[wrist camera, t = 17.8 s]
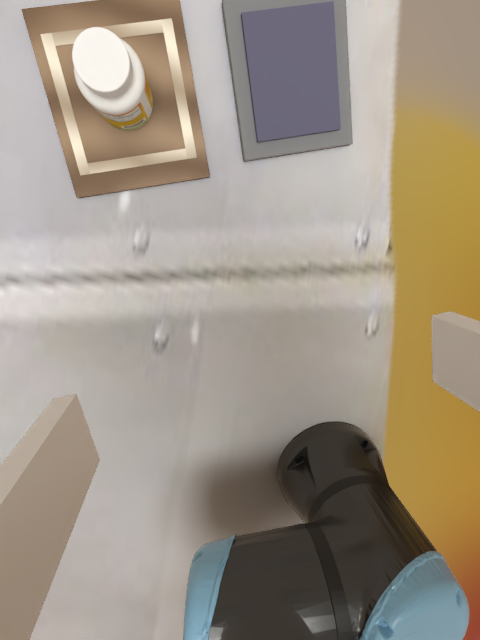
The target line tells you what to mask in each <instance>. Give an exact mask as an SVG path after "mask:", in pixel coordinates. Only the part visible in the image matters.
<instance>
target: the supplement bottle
mask: <svg viewBox="0 0 480 640" xmlns="http://www.w3.org/2000/svg"><path fill="white" fill-rule="evenodd" d="M72 59H73V64H74V75H75V79H76V83H77V85H78V87H79V89H80V91H81V93H82V94H83V96H84V97H85V98H86V100H87V101H88V102H89V103H90V104H91V105H92V106H93V107H94V108H95V109H96V110H97V111H98V112H99V113H100V114H101V115H102V116H103V118H104V119H105V120H106V121H107V122H109V123H110V124H111V125H113V126H114V127H116V128H118V129H121V130H135V129H138V128H140V127H142V126H143V125H144V124H145V123H146V122H147V121H148V119H149V118H150V116H151V113H152V109H153V98H152V93H151V89H150V86H149V84H148V80H147V78H146V75H145V71H144V69H143V66H142V63H141V61H140V59H139V57H138V55H137V54H136V52H135V51H134V50H133V48H132V47H131V46H130V45H129V44H127V43H126V42H125V41H123V40H122V39H120V38H119V37H118V36H117V35H115V34H114V33H113V32H111V31H109V30H107V29H105V28H101V27H92V28H88V29H86V30H84V31H83V32H81V33H80V34H79V35H78V37H77V38H76V40H75V42H74V45H73V49H72Z"/></svg>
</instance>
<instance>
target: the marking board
mask: <svg viewBox="0 0 480 640" xmlns="http://www.w3.org/2000/svg"><path fill="white" fill-rule="evenodd" d="M22 12H23V16H24V19H25V23H26V26H27V29H28V33H29V36H30V40H31V43H32V47H33V50H34V53H35V57H36V60H37V64H38V67H39V70H40V74H41V77H42V81H43V84H44V88H45V91H46V94H47V98H48V101H49V105H50V108H51V111H52V115H53V118H54V122H55V125H56V129H57V132H58V135H59V139H60V142H61V146H62V149H63V152H64V156H65V159H66V163H67V166H68V170H69V173H70V176H71V180H72V183H73V187H74V190H75V193H76V197H77V198H82V197H89V196H95V195H101V194H107V193H114V192H120V191H126V190H133V189H139V188H145V187H151V186H158V185H164V184H170V183H176V182H183V181H189V180H195V179H202V178H208V177H210V175H209V169H208V163H207V157H206V152H205V146H204V140H203V134H202V128H201V123H200V117H199V111H198V105H197V99H196V94H195V88H194V82H193V76H192V70H191V65H190V59H189V53H188V47H187V41H186V36H185V30H184V24H183V18H182V12H181V7H180V1H179V0H97V1H88V2H80V3H71V4H62V5H54V6H45V7H36V8H28V9H22ZM92 27H101V28H105V29H107V30H109V31H111V32H113V33H114V34H115V35H117V36H118V37H119V38H120V39H122V40H123V41H125V42H126V43H127V44H129V45H130V46H131V47H132V48H133V50H134V51H135V52H136V54H137V55H138V57H139V59H140V61H141V63H142V66H143V69H144V71H145V75H146V78H147V80H148V84H149V86H150V89H151V93H152V98H153V109H152V113H151V116H150V118H149V119H148V121H147V122H146V123H145V124H144V125H143V126H142V127H140V128H138V129H135V130H121V129H118V128H116V127H114V126H113V125H111V124H110V123H109V122H107V121H106V120H105V119H104V118H103V116H102V115H101V114H100V113H99V112H98V111H97V110H96V109H95V108H94V107H93V106H92V105H91V104H90V103H89V102H88V101H87V100H86V98H85V97H84V96H83V94H82V93H81V91H80V89H79V87H78V85H77V83H76V79H75V75H74V64H73V59H72V49H73V45H74V42H75V40H76V38H77V37H78V35H79V34H80V33H81V32H83V31H84V30H86V29H88V28H92Z"/></svg>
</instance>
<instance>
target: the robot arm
mask: <svg viewBox="0 0 480 640" xmlns="http://www.w3.org/2000/svg"><path fill="white" fill-rule="evenodd" d="M432 375H433V376H432V377H433V382H435V383H436V384H438V385H439V386H441V387H442V388H444V389H446V390H447V391H448V392H450V393H451V394H453V395H454V396H456V397H458V398H459V399H461V400H462V401H464V402H465V403H467V404H468V405H470V406H471V407H473V408H474V409H476V410H477V411H479V412H480V321H477V320H474V319H471V318H469V317H466V316H463V315H460V314H457V313H454V312H451V311H450V312H445V313H441V314H436V315H432ZM99 461H100V459H99V456H98V453H97V450H96V447H95V445H94V442H93V439H92V436H91V433H90V431H89V428H88V425H87V422H86V419H85V417H84V414H83V411H82V408H81V405H80V403H79V400H78V397H77V394H73V395H68V396H64V397H59V398H55V399H53V400H52V402H51V403H50V404H49V405H48V407H47V408H46V409H45V410H44V412H43V413H42V414H41V415H40V417H39V418H38V419H37V421H36V422H35V423H34V424H33V426H32V427H31V428H30V429H29V431H28V432H27V433H26V434H25V436H24V437H23V438H22V440H21V441H20V442H19V443H18V445H17V446H16V447H15V448H14V450H13V451H12V452H11V453H10V455H9V456H8V457H7V458H6V460H5V461H4V462H3V464H2V465H1V466H0V640H29V639H30V637H31V634H32V632H33V629H34V627H35V624H36V621H37V619H38V616H39V614H40V611H41V609H42V606H43V604H44V601H45V598H46V596H47V593H48V591H49V588H50V586H51V583H52V581H53V578H54V576H55V573H56V570H57V568H58V565H59V563H60V560H61V558H62V555H63V553H64V550H65V547H66V545H67V542H68V540H69V537H70V535H71V532H72V530H73V527H74V524H75V522H76V519H77V517H78V514H79V512H80V509H81V507H82V504H83V501H84V499H85V496H86V494H87V491H88V489H89V486H90V484H91V481H92V478H93V476H94V473H95V471H96V468H97V466H98V463H99ZM278 479H279V483H280V486H281V489H282V492H283V495H284V497H285V499H286V500H287V502H288V503H289V505H290V506H291V507H292V508H293V509H294V510H295V512H296V513H297V514H298V515H299V516H300V518H301V519H302V520H303V521H304V522H305V524H298V525H293V526H288V527H283V528H278V529H272V530H267V531H262V532H257V533H252V534H247V535H241V536H238V535H232V536H231V537H230V538H227V539H223V540H219V541H215V542H211V543H207V544H205V545H203V546H202V547H201V548H200V549H199V550H198V551H197V552H196V554H195V556H194V558H193V560H192V564H191V568H190V572H189V578H188V584H187V593H186V603H185V616H184V635H183V640H463V638H464V635H465V633H466V630H467V626H468V622H469V606H468V601H467V598H466V595H465V593H464V592H463V589H462V588H461V586H460V585H459V583H458V581H457V580H456V578H455V577H454V575H453V573H452V572H451V570H450V569H449V567H448V566H447V564H446V562H445V559H444V557H443V556H442V555H441V554H440V553H439V552H437V550H436V549H435V548H434V546H433V545H432V543H431V542H430V541H429V539H428V538H427V537H426V535H425V534H424V533H423V531H422V530H421V528H420V527H419V526H418V524H417V523H416V522H415V520H414V519H413V518H412V516H411V515H410V514H409V512H408V511H407V509H406V508H405V507H404V505H403V504H402V503H401V501H400V500H399V499H398V497H397V496H396V495H395V493H394V492H393V490H392V489H391V488H390V486H389V484H388V480H387V477H386V474H385V470H384V466H383V463H382V460H381V456H380V453H379V451H378V449H377V448H376V446H375V445H374V443H373V442H372V441H371V439H370V438H369V437H368V436H367V435H366V433H364V432H363V431H362V430H361V429H359V428H357V427H355V426H353V425H350V424H347V423H340V422H331V423H324V424H320V425H317V426H314V427H311V428H309V429H307V430H306V431H304V432H302V433H301V434H299V435H298V436H297V437H296V438H294V439H293V440H292V441H291V442H290V444H289V445H288V446H287V447H286V449H285V450H284V452H283V454H282V456H281V458H280V461H279V465H278Z"/></svg>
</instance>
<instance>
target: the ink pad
mask: <svg viewBox="0 0 480 640" xmlns="http://www.w3.org/2000/svg"><path fill="white" fill-rule="evenodd" d="M222 11H223V18H224V25H225V32H226V39H227V46H228V53H229V60H230V67H231V74H232V81H233V89H234V96H235V103H236V110H237V117H238V124H239V131H240V138H241V145H242V152H243V159H244V162H245V161H251V160H258V159H264V158H271V157H277V156H283V155H290V154H296V153H302V152H309V151H315V150H321V149H328V148H334V147H341V146H347V145H350V144H353V142H352V121H351V100H350V79H349V58H348V37H347V16H346V0H222Z"/></svg>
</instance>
